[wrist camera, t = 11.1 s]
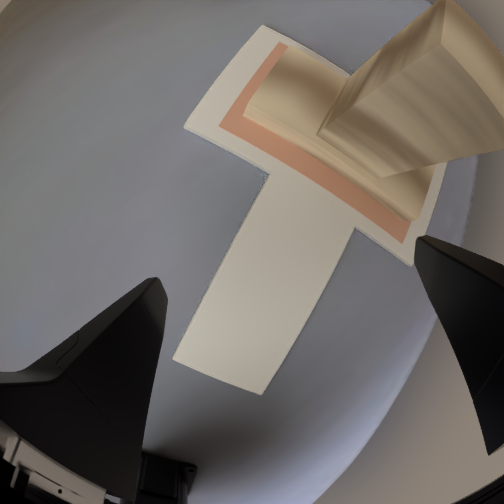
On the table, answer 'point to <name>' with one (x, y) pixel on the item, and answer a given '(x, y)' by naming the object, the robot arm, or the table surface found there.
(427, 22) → the birch tee block
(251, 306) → the tee mat
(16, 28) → the table surface
